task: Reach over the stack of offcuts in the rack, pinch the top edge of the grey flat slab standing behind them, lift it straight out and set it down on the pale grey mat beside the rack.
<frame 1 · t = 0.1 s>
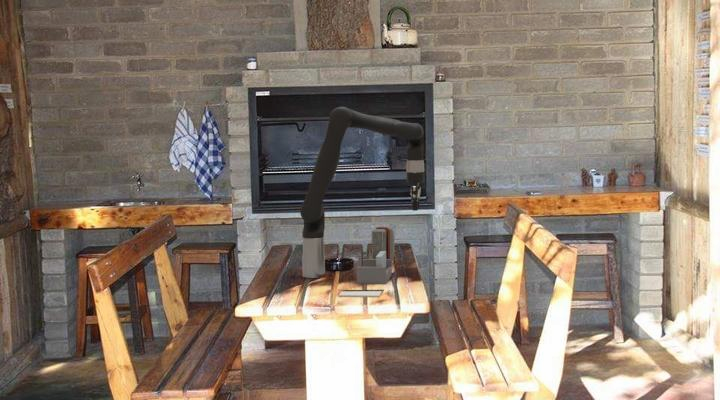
hand: (416, 209, 379), 29 cm above the table, tool pointing down, fingers open, 8 cm apart
grey flat slab: (381, 282, 374), on the table
mat: (361, 292, 354), on the table
rack: (374, 282, 374), on the table
offcut 2: (365, 279, 374), point 1 cm above the table, touching offcut 1, offcut 3
decorative stone tablet: (384, 269, 403), on the table
offcut 3: (365, 274, 375), point 3 cm above the table, touching offcut 2
offcut 1: (366, 283, 375), on the table, touching offcut 2
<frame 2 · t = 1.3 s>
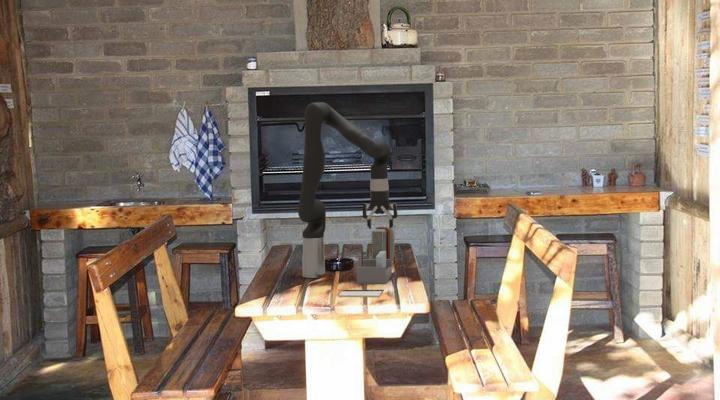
hand: (380, 228, 371), 23 cm above the table, tool pointing down, fingers open, 8 cm apart
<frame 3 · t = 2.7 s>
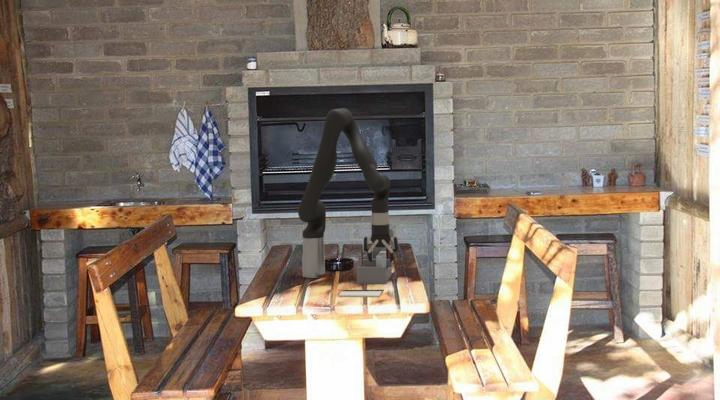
hand: (381, 261, 373), 9 cm above the table, tool pointing down, fingers open, 8 cm apart
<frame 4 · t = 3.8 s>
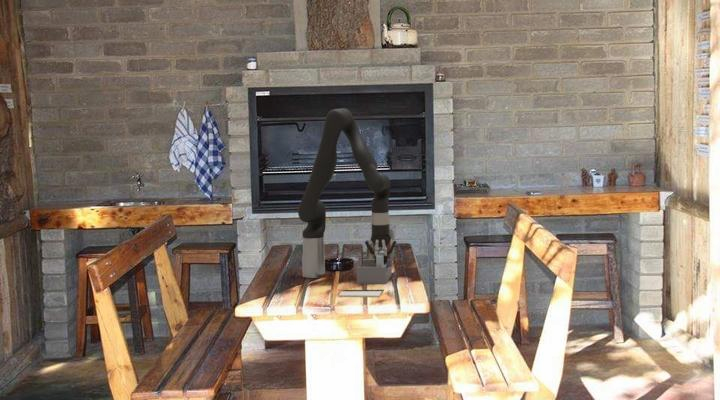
hand: (381, 264, 373), 8 cm above the table, tool pointing down, fingers closed on grey flat slab, 2 cm apart
grey flat slab: (381, 282, 374), on the table, touching gripper
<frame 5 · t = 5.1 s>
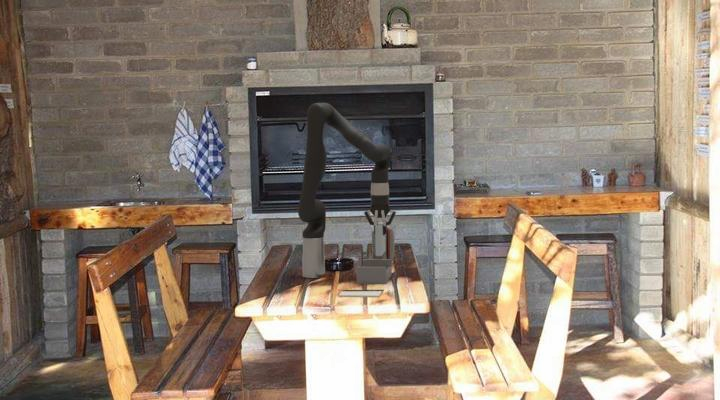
hand: (380, 234, 371), 20 cm above the table, tool pointing down, fingers closed on grey flat slab, 2 cm apart
grey flat slab: (380, 253, 372), point 12 cm above the table, touching gripper
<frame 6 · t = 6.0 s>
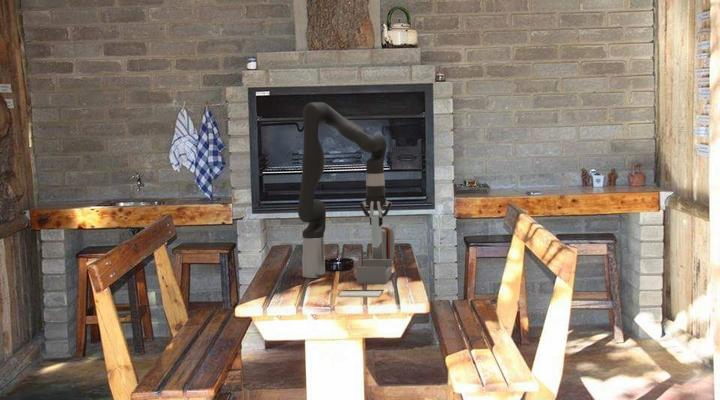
hand: (376, 226, 366), 24 cm above the table, tool pointing down, fingers closed on grey flat slab, 2 cm apart
grey flat slab: (376, 244, 367), point 17 cm above the table, touching gripper
when the fingers open (9 cm above the table, at t = 10.3 s): grey flat slab stays where it is, resting on mat.
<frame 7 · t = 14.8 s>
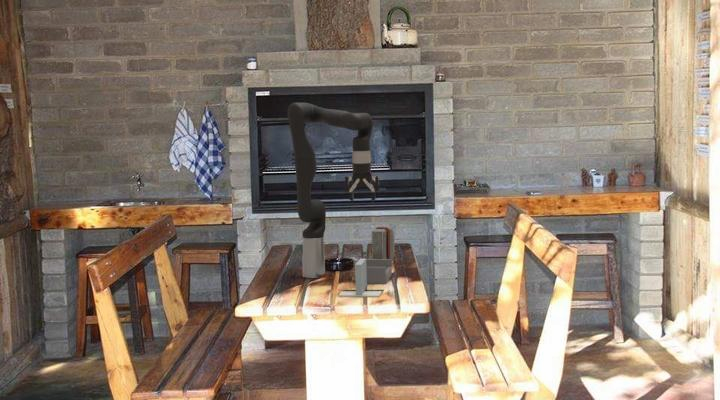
hand: (362, 201, 370), 34 cm above the table, tool pointing down, fingers open, 8 cm apart
grey flat slab: (361, 291, 354), point 1 cm above the table, touching mat
offcut 2: (363, 279, 374), point 1 cm above the table, touching offcut 1, offcut 3
offcut 3: (361, 275, 374), point 3 cm above the table, touching offcut 2
offcut 1: (362, 284, 374), on the table, touching offcut 2
everything else where it was.
at the end: grey flat slab inside the target area on the mat (0.1 cm from its centre), point 0.6 cm above the mat's base; grey flat slab touching mat; the gripper is holding nothing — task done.
